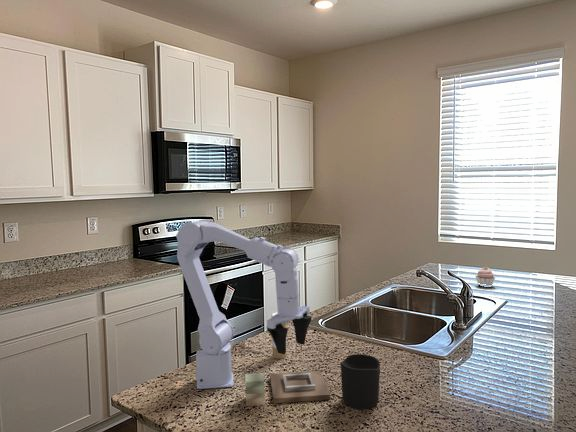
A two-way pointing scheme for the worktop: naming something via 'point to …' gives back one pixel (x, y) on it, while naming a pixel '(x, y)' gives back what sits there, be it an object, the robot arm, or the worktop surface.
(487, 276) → the cupcake
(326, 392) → the walnut board
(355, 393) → the pen holder
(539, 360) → the worktop surface
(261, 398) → the block stack
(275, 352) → the sprinkles bottle
